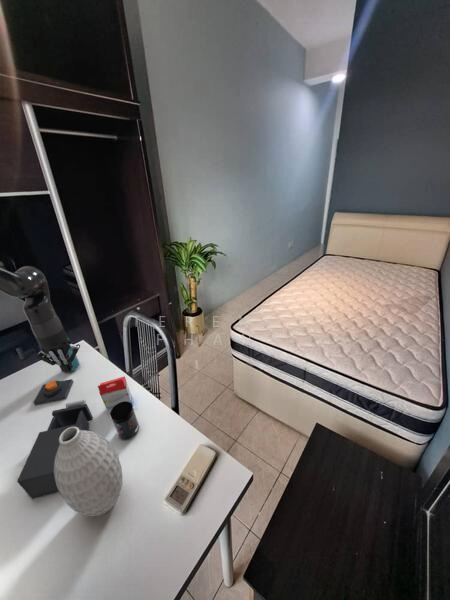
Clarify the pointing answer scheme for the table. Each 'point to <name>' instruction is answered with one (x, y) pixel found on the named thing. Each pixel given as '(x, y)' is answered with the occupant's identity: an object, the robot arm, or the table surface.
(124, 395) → the ink box
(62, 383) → the block
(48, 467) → the cabinet
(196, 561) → the table surface
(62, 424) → the drawer
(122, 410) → the supplement container
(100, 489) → the vase
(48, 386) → the button
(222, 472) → the table surface
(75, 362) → the beverage bottle
